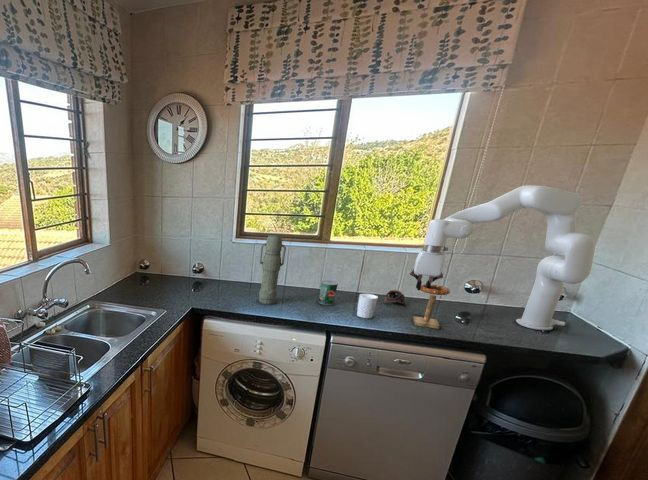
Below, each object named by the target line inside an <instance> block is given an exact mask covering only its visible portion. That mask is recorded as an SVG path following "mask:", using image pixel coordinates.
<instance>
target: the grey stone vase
mask: <svg viewBox="0 0 648 480" xmlns="http://www.w3.org/2000/svg"><path fill="white" fill-rule="evenodd" d="M264 246H265V253H264V256H263V252H264ZM282 248H283V253H281V252H282ZM260 251H261V252H260V258H259V264H260V265H262V267H261V268H262V276H261V285H260V288H259V292H258V303H260V304H263V305H276V304H277V303H276V302H277V301H276V300H277V297H278V289H277V288H278V281H279V280H278V279H279V272H280V271H281V267H282V266H284V264H285V258H286V251H287V247H286V245H285V244H283V238H282V235H281V234H278V233H271V234H268V236H267V238H266V243H263V244H262V245H261V250H260ZM281 255H282V257H281Z"/></svg>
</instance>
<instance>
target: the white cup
mask: <svg viewBox="0 0 648 480" xmlns="http://www.w3.org/2000/svg"><path fill="white" fill-rule="evenodd" d="M378 300H379V296H378V295H375V294H371V293H360V294H359V295H358V301H357V308H356V316H357V317H358V318H363V319H372V318H373V316H374V313H375V310H376V306H377V303H378Z"/></svg>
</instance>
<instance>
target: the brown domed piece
mask: <svg viewBox="0 0 648 480" xmlns="http://www.w3.org/2000/svg"><path fill="white" fill-rule="evenodd" d="M383 302H384V304H385V305H386V304H388V303H389V304H393V303H402V304H403V305H404V306H405V305H406V299H405V295H404V294H403V293H402V292H401V291H400V290H397V289H391V290H389V291H387V292H386V293H385V297H384V300H383Z"/></svg>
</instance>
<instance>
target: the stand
mask: <svg viewBox="0 0 648 480" xmlns="http://www.w3.org/2000/svg"><path fill="white" fill-rule="evenodd" d="M436 300H437V295H435V294H430V295H429V297H428V302H427V305H426V309H425V312H424V316H423V317H421V316H413V317H412V321H413V324H414V326H416V327H417V326H418V327H424V328H433V329H437V330H438V329H440V323H439V321H438V319H436V318H431V317H432V314H433V310H434V307H435V304H436Z"/></svg>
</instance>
